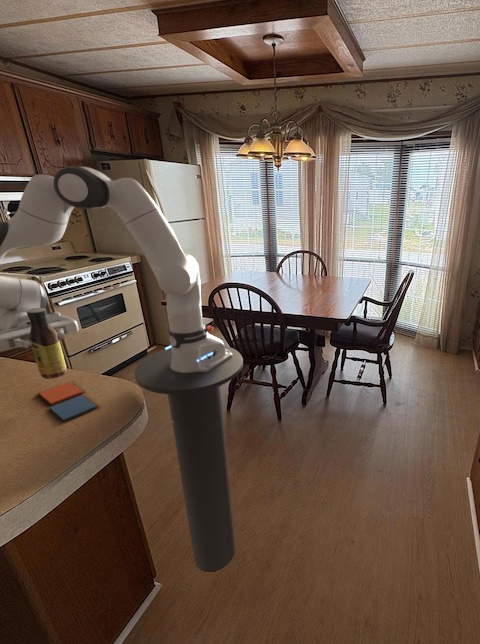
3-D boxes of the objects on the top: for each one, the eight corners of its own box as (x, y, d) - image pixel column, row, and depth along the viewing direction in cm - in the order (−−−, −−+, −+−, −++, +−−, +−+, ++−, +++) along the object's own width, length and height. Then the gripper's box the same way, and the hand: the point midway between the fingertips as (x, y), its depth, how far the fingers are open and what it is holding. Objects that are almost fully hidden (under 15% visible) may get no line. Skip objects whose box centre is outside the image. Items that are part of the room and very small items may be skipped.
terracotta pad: (70, 383, 106) (69, 381, 106) (83, 393, 102) (82, 391, 101) (38, 394, 100) (38, 392, 100) (51, 405, 95) (50, 403, 95)
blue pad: (82, 396, 100) (81, 395, 100) (97, 407, 95) (96, 405, 95) (50, 409, 94) (49, 407, 93) (63, 421, 89) (63, 419, 89)
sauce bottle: (40, 373, 99) (19, 308, 91) (66, 367, 102) (49, 304, 95) (41, 382, 94) (20, 314, 87) (69, 376, 98) (51, 310, 90)
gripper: (-25, 328, 92) (-8, 341, 84) (63, 310, 107) (83, 320, 100) (-17, 349, 94) (0, 364, 87) (68, 329, 110) (88, 340, 103)
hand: (45, 340), depth 94 cm, fingers closed on sauce bottle, 6 cm apart
